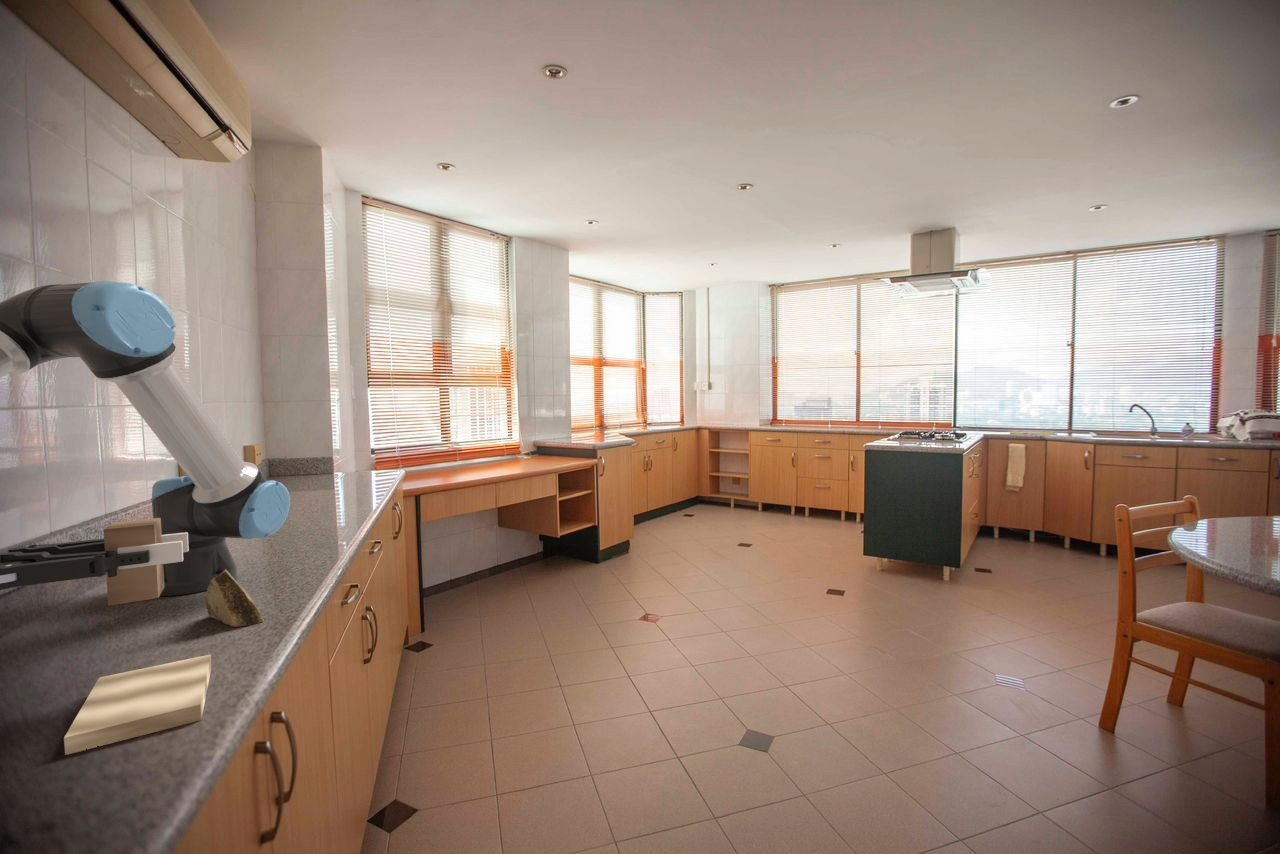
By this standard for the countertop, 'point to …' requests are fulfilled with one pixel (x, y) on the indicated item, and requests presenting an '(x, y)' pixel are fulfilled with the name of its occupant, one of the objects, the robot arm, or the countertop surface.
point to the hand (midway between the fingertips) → (184, 546)
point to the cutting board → (140, 703)
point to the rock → (230, 602)
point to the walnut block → (140, 579)
